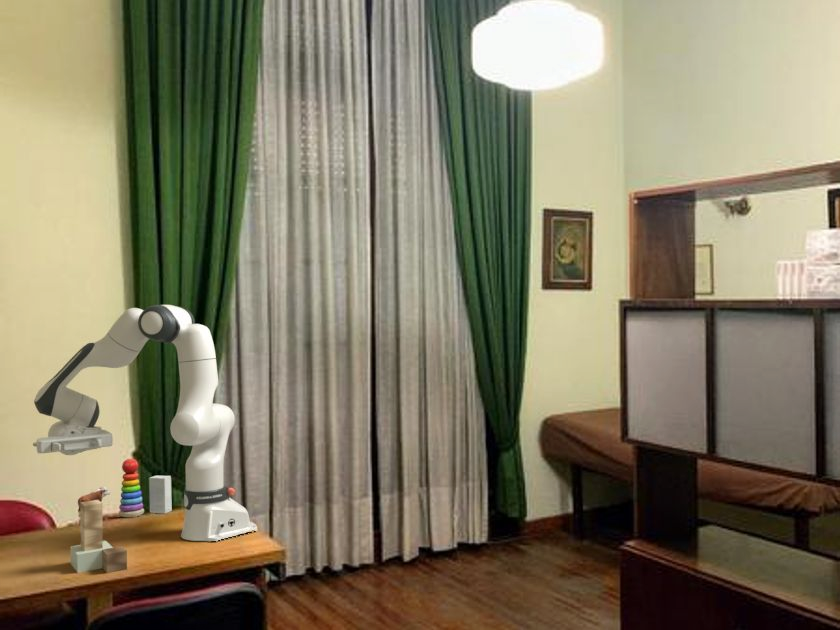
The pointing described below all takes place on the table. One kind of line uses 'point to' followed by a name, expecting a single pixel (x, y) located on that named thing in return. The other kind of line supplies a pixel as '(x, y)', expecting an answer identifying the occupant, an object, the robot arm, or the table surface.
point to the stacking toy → (130, 491)
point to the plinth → (87, 558)
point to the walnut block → (114, 559)
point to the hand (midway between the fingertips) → (80, 446)
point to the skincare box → (160, 494)
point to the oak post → (91, 525)
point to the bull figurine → (93, 496)
